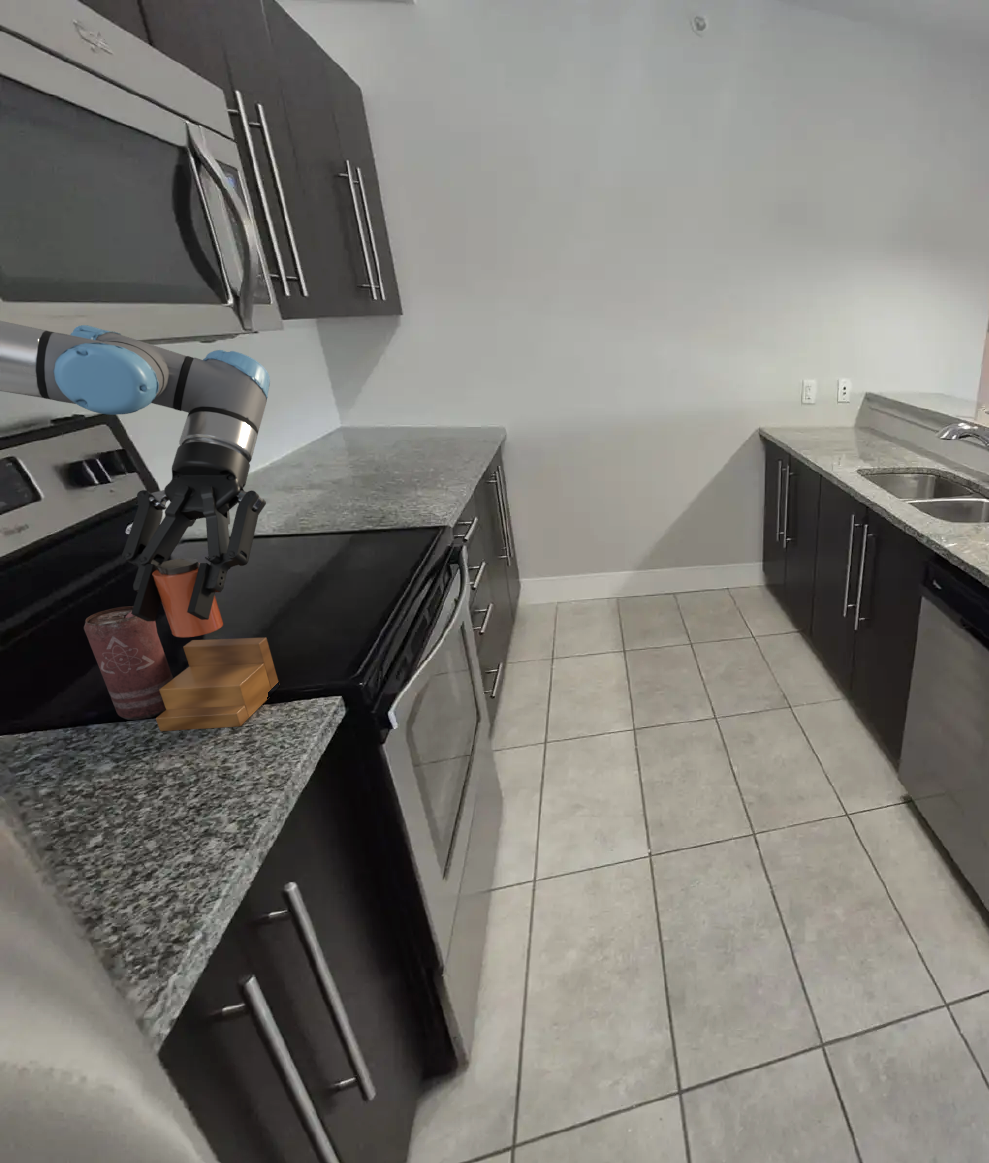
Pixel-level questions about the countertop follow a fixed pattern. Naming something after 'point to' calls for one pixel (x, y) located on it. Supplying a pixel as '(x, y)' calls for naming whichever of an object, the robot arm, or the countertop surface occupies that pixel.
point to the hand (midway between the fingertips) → (170, 616)
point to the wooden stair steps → (218, 684)
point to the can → (129, 661)
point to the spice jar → (183, 598)
